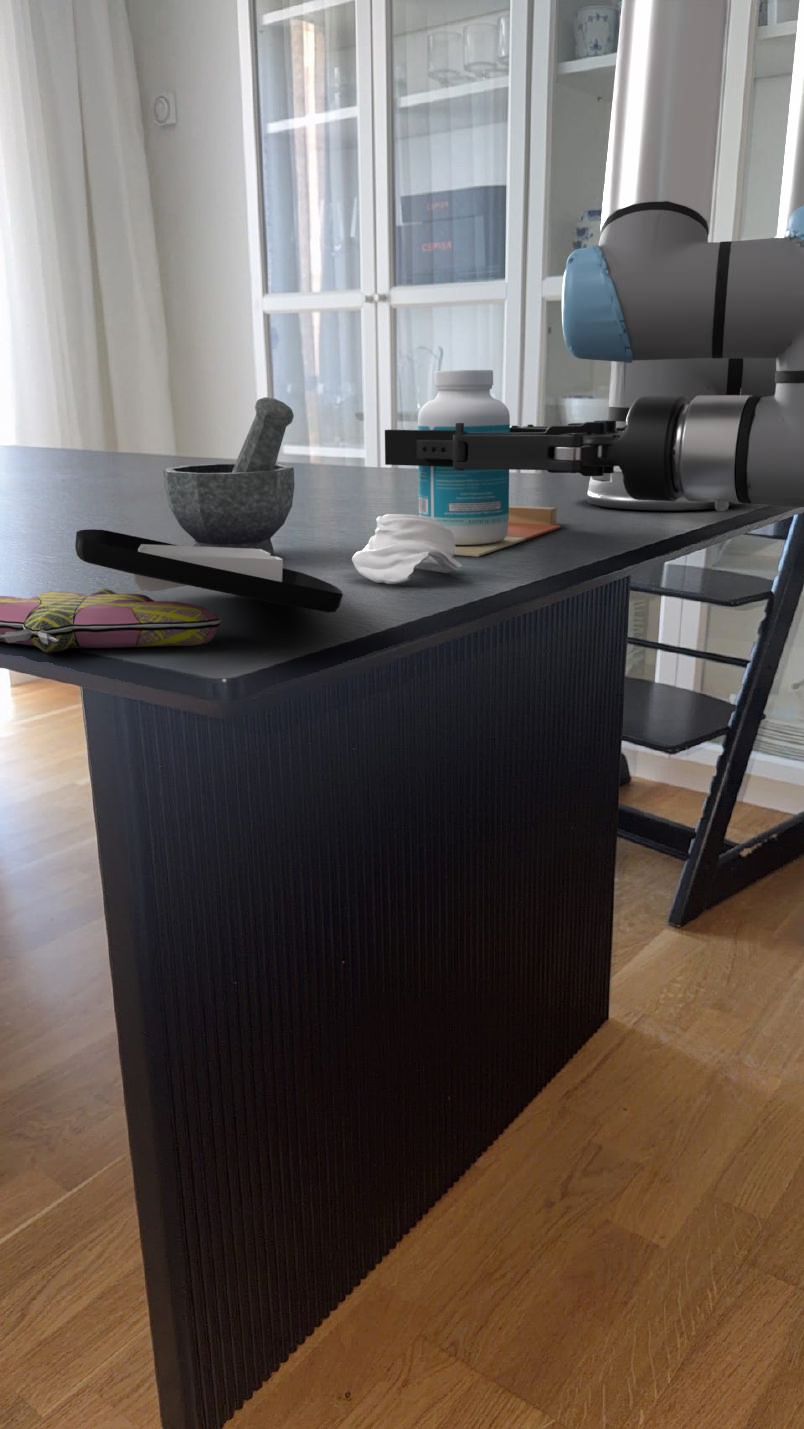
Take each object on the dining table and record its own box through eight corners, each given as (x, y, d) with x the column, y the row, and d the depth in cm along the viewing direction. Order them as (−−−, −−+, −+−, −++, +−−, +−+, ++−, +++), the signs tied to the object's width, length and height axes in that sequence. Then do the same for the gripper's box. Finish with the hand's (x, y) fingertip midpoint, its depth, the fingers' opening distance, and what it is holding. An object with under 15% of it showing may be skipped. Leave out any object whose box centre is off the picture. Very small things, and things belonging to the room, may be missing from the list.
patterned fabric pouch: (251, 587, 59) (182, 631, 50) (253, 625, 60) (185, 675, 50) (-21, 579, 62) (-134, 619, 53) (-16, 615, 63) (-126, 660, 53)
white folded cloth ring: (335, 589, 75) (324, 520, 73) (402, 567, 79) (393, 502, 77) (415, 595, 69) (406, 521, 68) (483, 572, 73) (475, 501, 72)
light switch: (54, 578, 48) (352, 638, 51) (65, 514, 47) (365, 579, 51) (86, 557, 67) (303, 602, 70) (94, 511, 66) (312, 559, 70)
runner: (480, 523, 101) (480, 521, 101) (560, 527, 97) (560, 525, 97) (388, 550, 86) (388, 547, 85) (478, 556, 82) (478, 554, 82)
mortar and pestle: (144, 562, 81) (130, 398, 78) (231, 546, 88) (222, 396, 85) (250, 576, 75) (240, 398, 71) (335, 558, 82) (330, 396, 78)
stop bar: (496, 521, 101) (497, 504, 101) (556, 525, 99) (556, 507, 98) (490, 523, 100) (491, 506, 100) (550, 527, 97) (551, 509, 97)
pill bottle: (526, 539, 89) (530, 369, 84) (468, 550, 83) (470, 369, 79) (458, 532, 94) (459, 370, 89) (400, 541, 88) (398, 371, 84)
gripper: (643, 517, 71) (349, 502, 81) (714, 488, 88) (463, 479, 98) (650, 399, 68) (346, 400, 79) (721, 393, 85) (463, 395, 96)
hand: (411, 444), depth 88 cm, fingers closed on pill bottle, 7 cm apart
